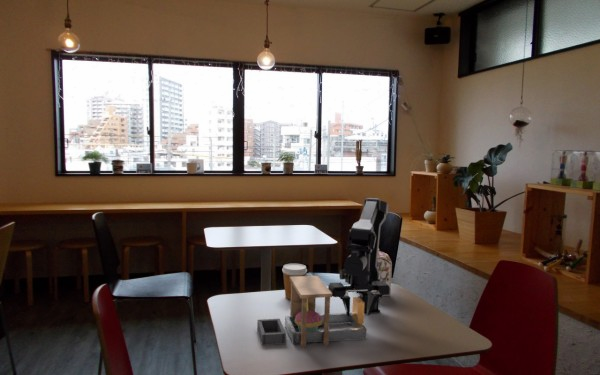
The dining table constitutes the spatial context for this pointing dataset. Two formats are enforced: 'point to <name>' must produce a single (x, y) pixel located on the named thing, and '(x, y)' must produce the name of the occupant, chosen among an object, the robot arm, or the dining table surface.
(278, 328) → the box
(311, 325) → the cupcake
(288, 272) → the disposable coffee cup
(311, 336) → the grey shallow tray
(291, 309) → the small wooden table
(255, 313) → the dining table surface
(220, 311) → the dining table surface
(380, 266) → the decorative jar
